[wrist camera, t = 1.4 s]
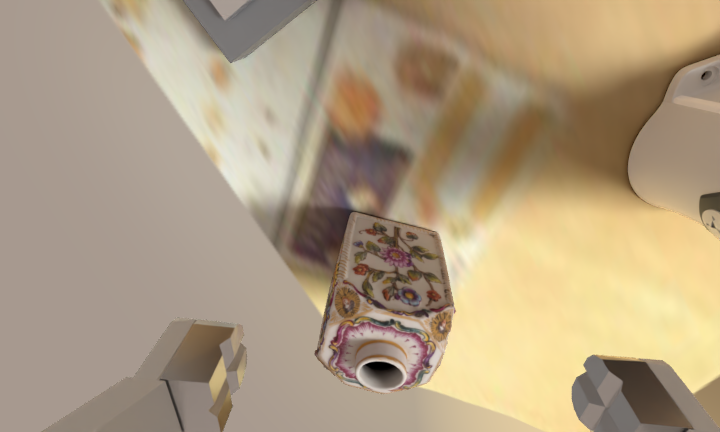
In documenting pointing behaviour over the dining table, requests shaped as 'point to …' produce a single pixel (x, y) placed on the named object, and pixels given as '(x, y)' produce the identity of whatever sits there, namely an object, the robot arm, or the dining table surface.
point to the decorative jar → (386, 307)
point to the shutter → (229, 7)
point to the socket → (246, 23)
